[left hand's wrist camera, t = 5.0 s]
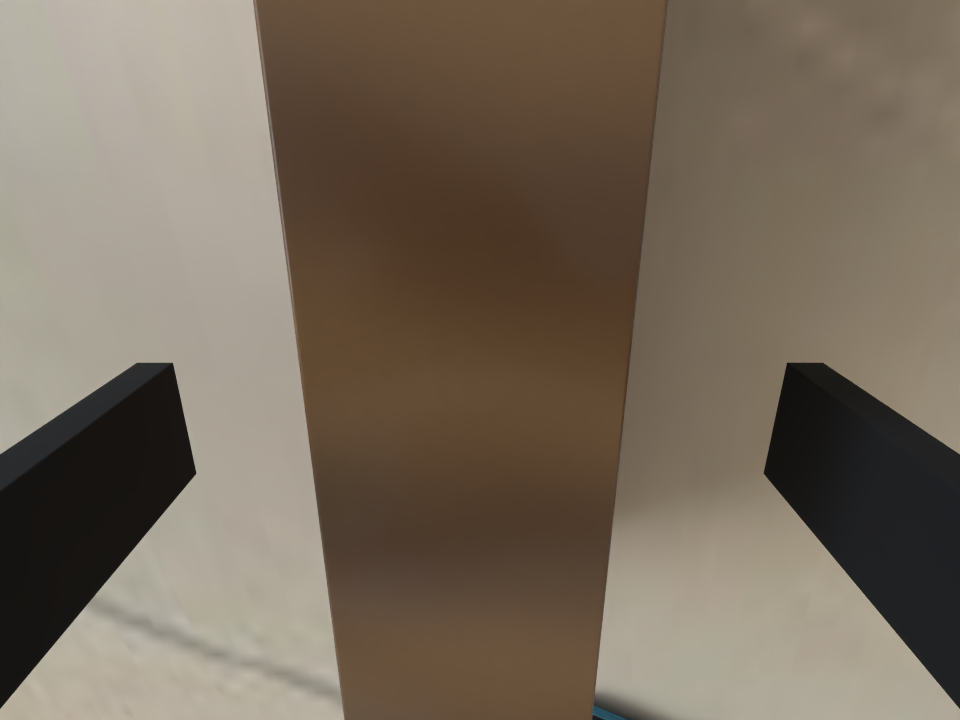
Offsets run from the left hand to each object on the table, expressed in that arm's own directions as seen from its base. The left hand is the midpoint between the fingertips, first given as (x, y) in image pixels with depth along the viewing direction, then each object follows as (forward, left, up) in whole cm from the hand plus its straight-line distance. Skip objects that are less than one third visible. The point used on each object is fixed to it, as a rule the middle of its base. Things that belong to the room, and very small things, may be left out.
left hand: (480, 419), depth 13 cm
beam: (-3, +24, -5) cm, 25 cm away
